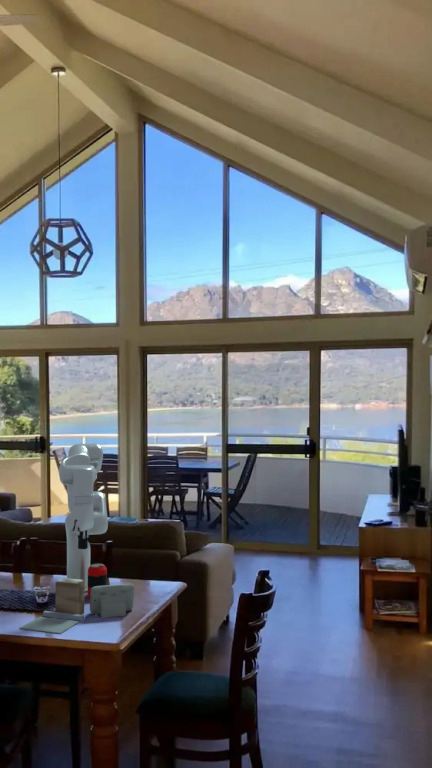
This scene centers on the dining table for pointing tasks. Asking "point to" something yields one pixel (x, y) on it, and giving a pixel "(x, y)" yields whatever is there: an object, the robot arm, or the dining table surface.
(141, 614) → the dining table surface
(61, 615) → the rail
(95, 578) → the soda can
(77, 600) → the block
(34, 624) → the mat
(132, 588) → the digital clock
